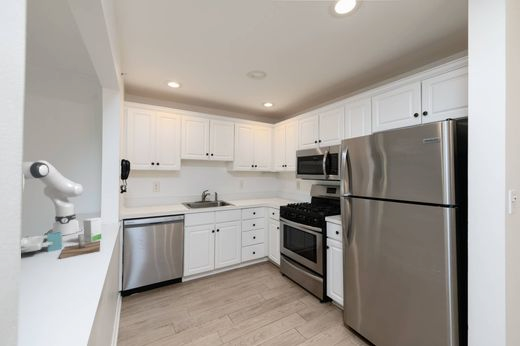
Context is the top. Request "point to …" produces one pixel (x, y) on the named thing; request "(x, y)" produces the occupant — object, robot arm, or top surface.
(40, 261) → the top surface
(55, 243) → the teal pencil cup
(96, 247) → the base
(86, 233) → the skincare box
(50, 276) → the top surface
